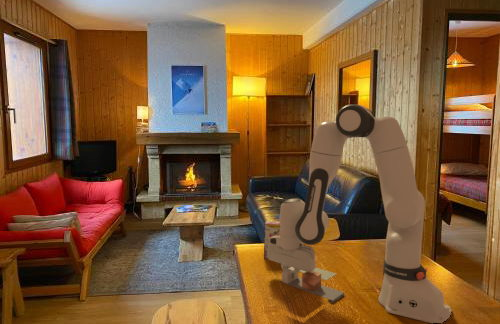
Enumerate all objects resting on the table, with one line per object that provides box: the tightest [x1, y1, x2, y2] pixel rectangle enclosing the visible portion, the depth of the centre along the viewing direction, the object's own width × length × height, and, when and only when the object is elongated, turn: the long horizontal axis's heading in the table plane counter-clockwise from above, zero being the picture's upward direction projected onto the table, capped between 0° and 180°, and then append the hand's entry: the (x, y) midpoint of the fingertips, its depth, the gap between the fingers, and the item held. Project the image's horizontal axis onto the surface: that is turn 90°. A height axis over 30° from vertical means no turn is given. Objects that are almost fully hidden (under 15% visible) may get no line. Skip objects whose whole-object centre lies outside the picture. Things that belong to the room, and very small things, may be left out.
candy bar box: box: [263, 220, 280, 260], centre depth 173 cm, size 11×5×16 cm, turn 84°
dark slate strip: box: [281, 267, 345, 304], centre depth 141 cm, size 22×8×5 cm, turn 48°
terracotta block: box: [301, 271, 322, 291], centre depth 141 cm, size 5×5×5 cm
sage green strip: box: [280, 264, 337, 281], centre depth 158 cm, size 22×8×5 cm, turn 48°
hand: (290, 276), depth 148 cm, fingers closed on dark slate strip, 2 cm apart
